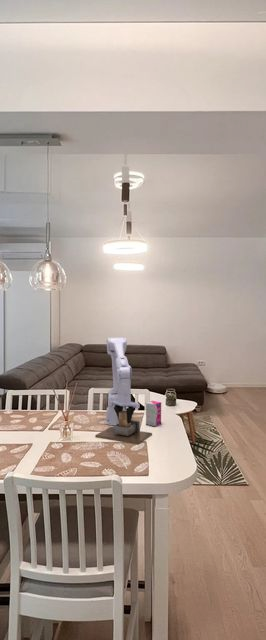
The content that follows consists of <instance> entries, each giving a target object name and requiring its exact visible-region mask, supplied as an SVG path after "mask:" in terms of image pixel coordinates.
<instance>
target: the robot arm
mask: <svg viewBox="0 0 266 640" xmlns="http://www.w3.org/2000/svg"><path fill="white" fill-rule="evenodd" d="M127 341H128V340H127V338H126V336H124V337H107V339H106V352H107V354H108V355H110V358H111V363H112V364H111V369H112V385H113V386H112V387H111V388H110V389H109V390H108V395H107V402H108V403H107V404H108V406H107V407H106V411H105V417H106V418H105V421H106V422H105V425H109V426H114V425H116V424H118V423H119V412H121V411H123V410H124V411H126V412H127V423H131V420H133V419H132V418H133V415H134V413H135V411H136V409H140V403H139V402H134V401H132V400H131V398H132V394H131V390H132V389H131V386H132V385H131V380H132V377H133V371H132V366H130V365H129V361H128V358H127V356H126V355H125V353H126V351H127V346H128V342H127Z"/></svg>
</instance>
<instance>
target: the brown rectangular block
mask: <svg viewBox="0 0 266 640" xmlns="http://www.w3.org/2000/svg"><path fill="white" fill-rule="evenodd" d="M119 426H122V427H129V426H131V423H127V412H126V410H125V411H124V410H123V411H121V412H119Z"/></svg>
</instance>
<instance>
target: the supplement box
mask: <svg viewBox="0 0 266 640" xmlns="http://www.w3.org/2000/svg"><path fill="white" fill-rule="evenodd" d="M160 425H162V402H161V401H155V400H151V401H147V402H146V403H145V426H149V427H153V428H156V427H158V426H160Z"/></svg>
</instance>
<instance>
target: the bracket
mask: <svg viewBox="0 0 266 640" xmlns="http://www.w3.org/2000/svg"><path fill="white" fill-rule="evenodd" d="M140 426H141V424H140V420H134V419H131V426H129V427H122V426H119V423H118V424H116V425H113V426H110V427H108V428H105V429H104V430H103V431H101V432H99V433H96V434H95V435H94V436H95V438H99V439H102V440H103V439H104V440H110V441H115V442H122V443H125V444H127V443H128V444H134V445H140V444H141V443H142V442H143V443H144V441H145V440H147V439H148V438H150V437H151V436H153V432H147V431H141V427H140Z"/></svg>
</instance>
